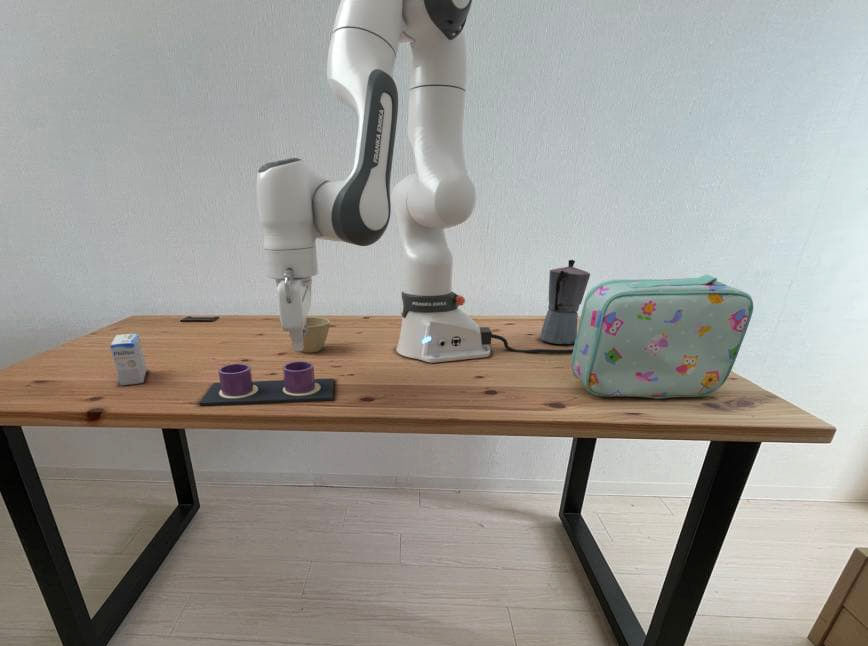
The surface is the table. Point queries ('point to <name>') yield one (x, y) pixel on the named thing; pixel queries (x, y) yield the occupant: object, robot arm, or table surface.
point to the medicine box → (128, 359)
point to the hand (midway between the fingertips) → (301, 342)
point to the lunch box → (659, 337)
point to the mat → (269, 393)
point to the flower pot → (315, 334)
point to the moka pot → (564, 304)
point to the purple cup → (299, 377)
